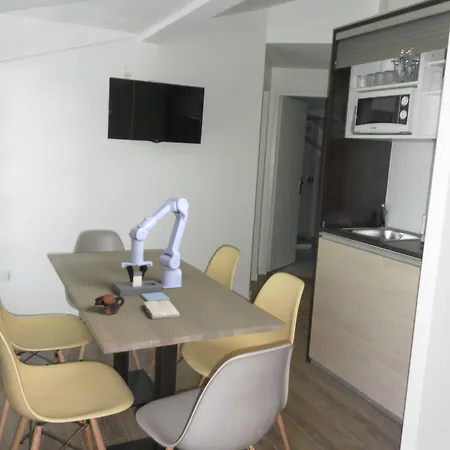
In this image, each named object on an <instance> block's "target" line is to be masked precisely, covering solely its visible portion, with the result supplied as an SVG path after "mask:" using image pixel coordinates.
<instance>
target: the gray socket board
mask: <svg viewBox="0 0 450 450" xmlns="http://www.w3.org/2000/svg"><path fill="white" fill-rule="evenodd" d="M112 287H113V289H112V290H113V291H115V293H116V294H117V295H119V296H122V297H129V296H130V295H131V296H141V294H146V293H158V292H162V293H163V289H164V288H163V287H162V286H161V285H160V284H159V282H157V281H155V280H143V281H142V286H136V287H132V286H131V282H130V281H124V282H121V281H120V282H113V284H112ZM119 296H118V297H119Z"/></svg>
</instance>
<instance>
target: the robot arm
mask: <svg viewBox="0 0 450 450" xmlns="http://www.w3.org/2000/svg"><path fill="white" fill-rule="evenodd" d="M189 207H190V204H189V203H188V200H187V199H186V198H181V197H177V196H172V195H171V196H169V197H168V198H167V199H166V200H164V203H163V204H162V205H161V206H160V207H159V208H158V209H157V210H156V211H155V212H154V213H153V214H152V216H150V215H149V216H145V217H144V219H143V220H142V221H141V222H140V223H138V224H137V225H136V226H134V227H132V228H131V229H130V232H129V233H128V236H129V238H130V242H131V243H130V246H131V247H130V261H126V262H125V261H124V262H121V263H120V267H121V268H125V269H126V271H127V273H128V277H129V282H133V272H134V270H135V269H134V267H138V268H139V270H140V271H142V281H144V277H145V274H146V272H147V271H148V267H153V261H151V260H147V261H146V260H144V251H145V250H144V249H145V240H147V236H148V234H149V233H150V232H151V231H152V230H153V229H154V228H155V227H157V222H159V220H161V219H162V218H163V217H164V216H166V215H167V214H168V213H171V212H172V213H173V214H174V216H175V221H174V223H173V227H172V230H171V235H170V238H169V241H168V244H167V248H165V249H164V250H163V251H162V254H160V256H159V264H160V265H161V280H160V281H161V283H159V282H158V284H160V285H161V286H162V287H163V288H162V289H175V288H177V289H178V288H182V287H183V286H182V274H183V273H182V270H181V268H180V265H181V253H180V251H179V250H180V245H181V242H182V240H183V235H184V231H185V227H186V225H187V221H188V218H189Z"/></svg>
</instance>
